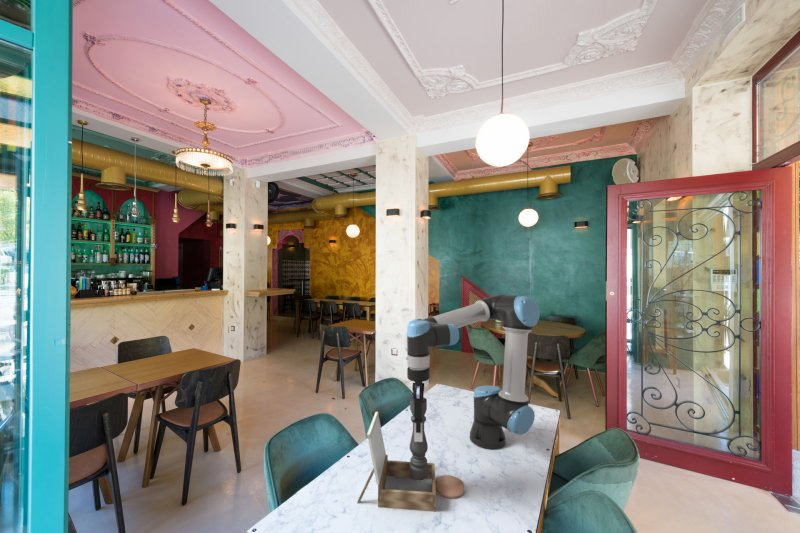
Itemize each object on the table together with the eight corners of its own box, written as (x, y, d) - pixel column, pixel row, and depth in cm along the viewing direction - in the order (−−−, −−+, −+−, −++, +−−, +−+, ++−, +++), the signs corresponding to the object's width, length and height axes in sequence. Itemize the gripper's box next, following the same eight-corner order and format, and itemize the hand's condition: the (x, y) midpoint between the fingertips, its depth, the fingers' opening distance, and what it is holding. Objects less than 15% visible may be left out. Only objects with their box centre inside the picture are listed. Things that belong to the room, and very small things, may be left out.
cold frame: (434, 477, 110) (434, 443, 111) (435, 512, 94) (436, 471, 95) (366, 473, 112) (366, 439, 113) (356, 505, 97) (357, 466, 97)
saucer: (462, 479, 109) (462, 476, 110) (466, 499, 100) (466, 496, 100) (434, 477, 110) (434, 474, 110) (435, 497, 100) (435, 493, 100)
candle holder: (408, 469, 106) (408, 396, 107) (426, 468, 107) (425, 395, 107) (410, 481, 100) (410, 404, 101) (429, 480, 101) (429, 403, 101)
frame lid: (386, 454, 112) (386, 411, 113) (379, 485, 96) (379, 434, 96) (374, 453, 113) (375, 411, 113) (366, 484, 96) (366, 434, 97)
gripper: (408, 359, 114) (409, 422, 113) (405, 375, 95) (405, 451, 95) (429, 359, 113) (429, 423, 112) (429, 376, 95) (430, 452, 94)
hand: (418, 436), depth 104 cm, fingers closed on candle holder, 5 cm apart
